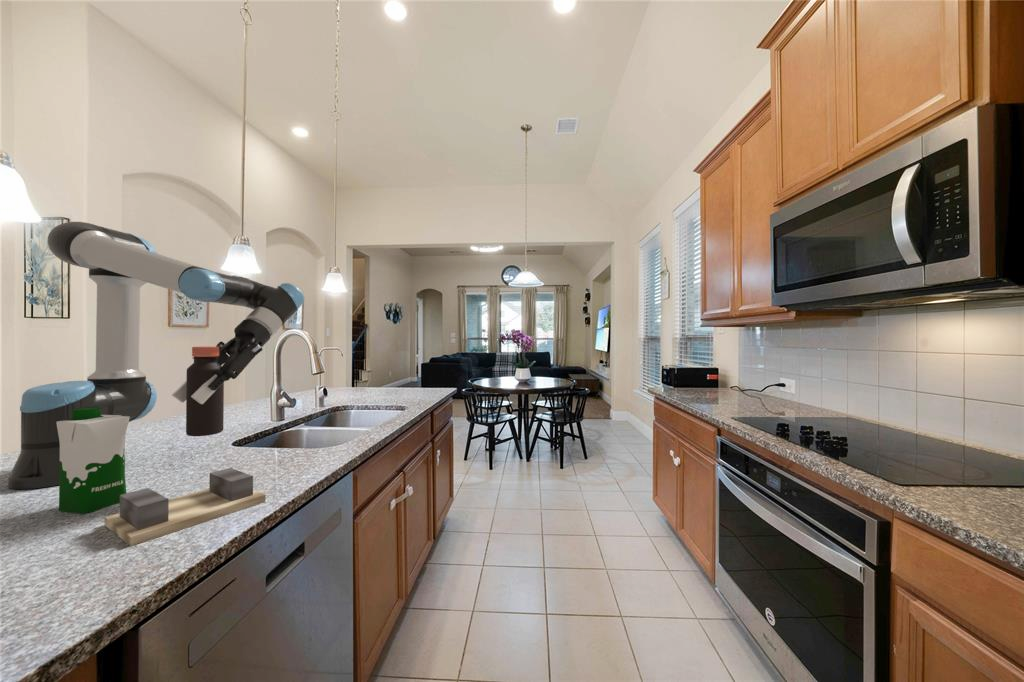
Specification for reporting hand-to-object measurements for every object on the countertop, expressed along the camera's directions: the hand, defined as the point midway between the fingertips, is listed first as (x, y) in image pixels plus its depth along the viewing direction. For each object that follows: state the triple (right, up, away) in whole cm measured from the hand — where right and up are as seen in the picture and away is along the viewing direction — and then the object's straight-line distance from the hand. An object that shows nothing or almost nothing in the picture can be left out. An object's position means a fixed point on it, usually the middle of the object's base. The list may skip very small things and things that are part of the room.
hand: (187, 399), depth 86 cm
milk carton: (-14, -21, -6) cm, 26 cm away
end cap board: (+9, -21, -9) cm, 25 cm away
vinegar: (+1, -8, +3) cm, 9 cm away
